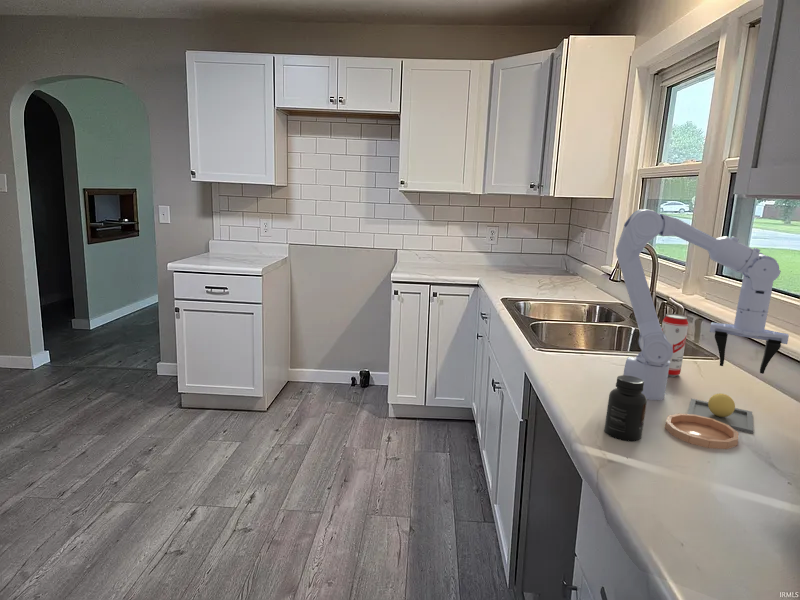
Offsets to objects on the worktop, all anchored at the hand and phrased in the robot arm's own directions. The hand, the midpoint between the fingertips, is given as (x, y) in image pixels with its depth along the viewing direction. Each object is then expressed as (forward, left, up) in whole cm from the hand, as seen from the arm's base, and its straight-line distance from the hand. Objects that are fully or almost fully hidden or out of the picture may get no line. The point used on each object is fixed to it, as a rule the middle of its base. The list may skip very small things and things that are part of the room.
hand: (741, 368), depth 122 cm
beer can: (-16, +19, -10) cm, 26 cm away
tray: (-3, -8, -10) cm, 13 cm away
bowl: (-6, -21, -10) cm, 24 cm away
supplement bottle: (-19, -31, -10) cm, 38 cm away
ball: (-3, -8, -9) cm, 13 cm away
